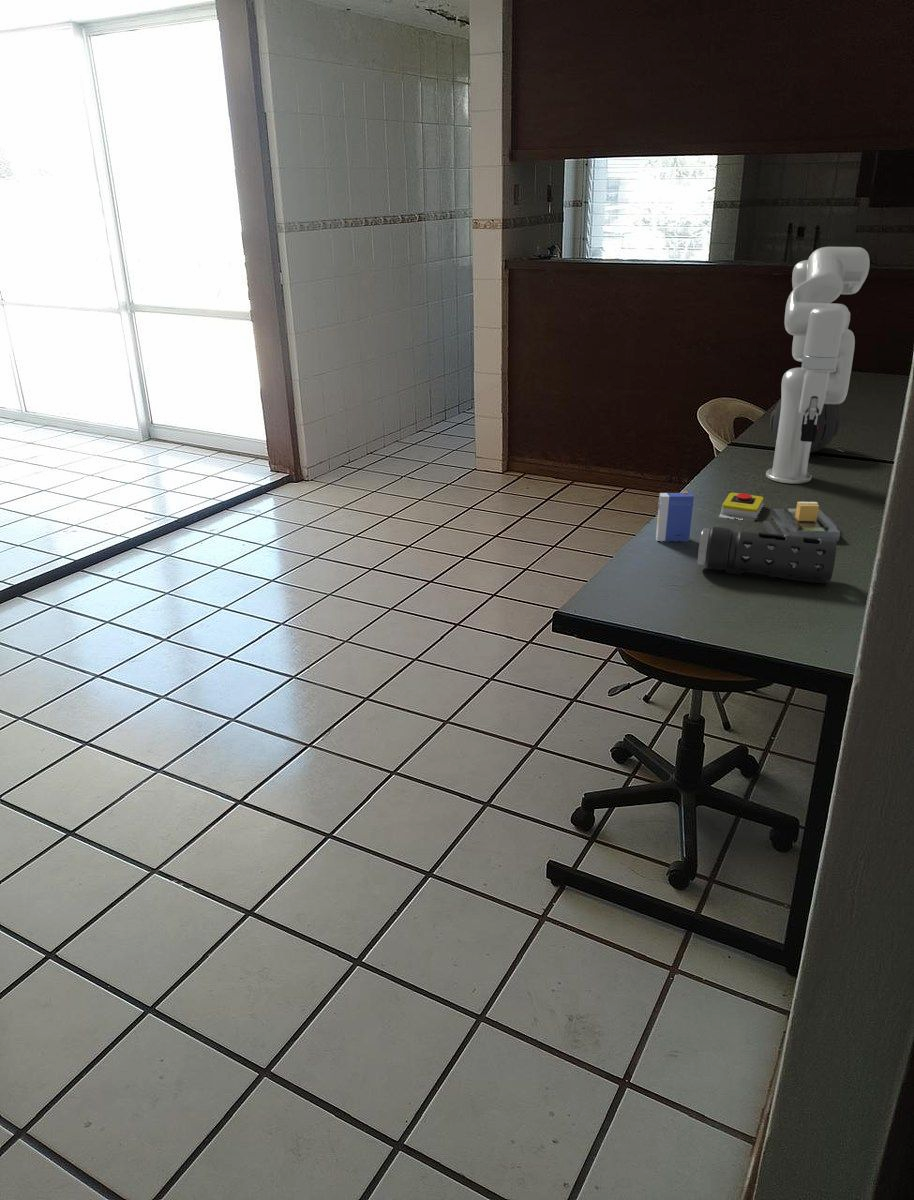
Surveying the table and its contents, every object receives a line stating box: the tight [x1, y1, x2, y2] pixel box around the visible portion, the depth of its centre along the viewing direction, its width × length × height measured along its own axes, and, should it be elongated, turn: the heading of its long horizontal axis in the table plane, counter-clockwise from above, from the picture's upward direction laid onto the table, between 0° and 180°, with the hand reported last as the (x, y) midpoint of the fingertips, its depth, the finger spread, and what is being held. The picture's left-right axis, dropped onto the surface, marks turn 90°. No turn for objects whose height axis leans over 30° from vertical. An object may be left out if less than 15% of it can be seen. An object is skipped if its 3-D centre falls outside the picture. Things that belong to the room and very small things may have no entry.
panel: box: [771, 508, 841, 543], centre depth 225 cm, size 16×12×3 cm
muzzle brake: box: [697, 525, 837, 585], centre depth 199 cm, size 10×28×10 cm, turn 71°
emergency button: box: [718, 492, 764, 521], centre depth 238 cm, size 9×4×15 cm
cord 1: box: [762, 520, 779, 534], centre depth 222 cm, size 14×1×1 cm, turn 177°
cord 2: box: [826, 515, 840, 530], centre depth 227 cm, size 8×1×1 cm, turn 177°
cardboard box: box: [795, 501, 820, 521], centre depth 224 cm, size 3×4×4 cm
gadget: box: [769, 398, 842, 453], centre depth 283 cm, size 21×20×20 cm
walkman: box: [655, 491, 694, 543], centre depth 218 cm, size 8×3×12 cm, turn 89°
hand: (807, 436), depth 215 cm, fingers open, 9 cm apart
